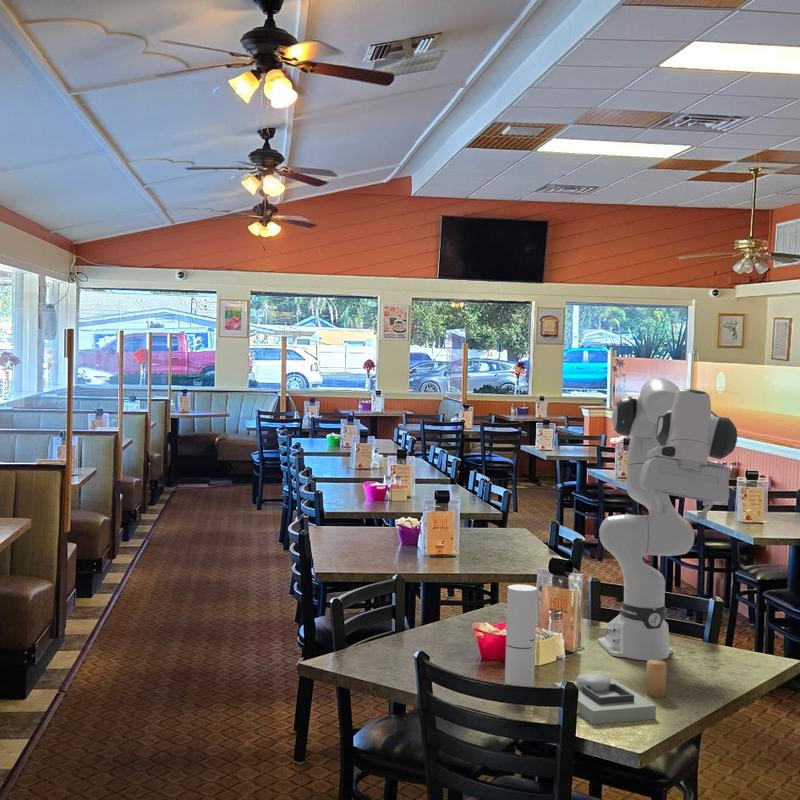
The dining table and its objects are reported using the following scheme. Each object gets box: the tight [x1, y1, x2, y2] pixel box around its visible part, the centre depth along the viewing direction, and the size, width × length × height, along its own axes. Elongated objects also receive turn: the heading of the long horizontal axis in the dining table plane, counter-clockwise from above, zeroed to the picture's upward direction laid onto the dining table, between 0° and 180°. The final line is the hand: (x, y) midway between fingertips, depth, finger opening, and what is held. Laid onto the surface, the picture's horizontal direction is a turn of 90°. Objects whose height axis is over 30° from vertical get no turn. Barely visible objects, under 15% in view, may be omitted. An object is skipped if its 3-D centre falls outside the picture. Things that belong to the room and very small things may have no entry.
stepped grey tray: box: [553, 673, 657, 725], centre depth 233 cm, size 20×16×5 cm
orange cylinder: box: [645, 660, 667, 699], centre depth 242 cm, size 5×5×8 cm
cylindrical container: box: [504, 583, 538, 687], centre depth 244 cm, size 7×7×25 cm
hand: (681, 516), depth 223 cm, fingers open, 8 cm apart
